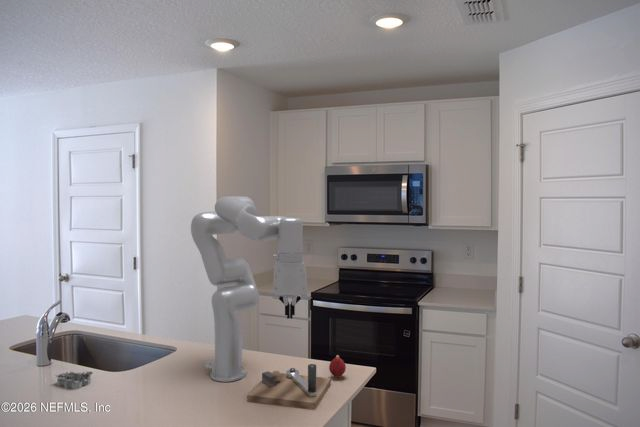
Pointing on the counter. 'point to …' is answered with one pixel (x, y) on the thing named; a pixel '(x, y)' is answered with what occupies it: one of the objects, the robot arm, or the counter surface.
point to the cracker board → (287, 391)
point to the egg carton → (69, 378)
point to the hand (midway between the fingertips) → (289, 317)
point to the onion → (337, 367)
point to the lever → (307, 387)
